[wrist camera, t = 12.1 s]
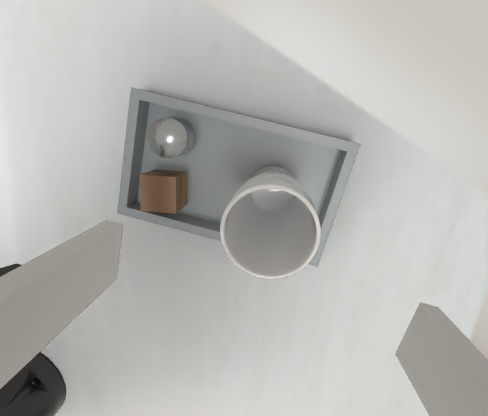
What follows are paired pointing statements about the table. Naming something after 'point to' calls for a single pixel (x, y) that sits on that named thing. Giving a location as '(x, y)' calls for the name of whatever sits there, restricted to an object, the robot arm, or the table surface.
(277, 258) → the drinking glass
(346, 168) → the collection tray
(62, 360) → the table surface
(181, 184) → the walnut cube
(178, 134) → the metal cylinder
